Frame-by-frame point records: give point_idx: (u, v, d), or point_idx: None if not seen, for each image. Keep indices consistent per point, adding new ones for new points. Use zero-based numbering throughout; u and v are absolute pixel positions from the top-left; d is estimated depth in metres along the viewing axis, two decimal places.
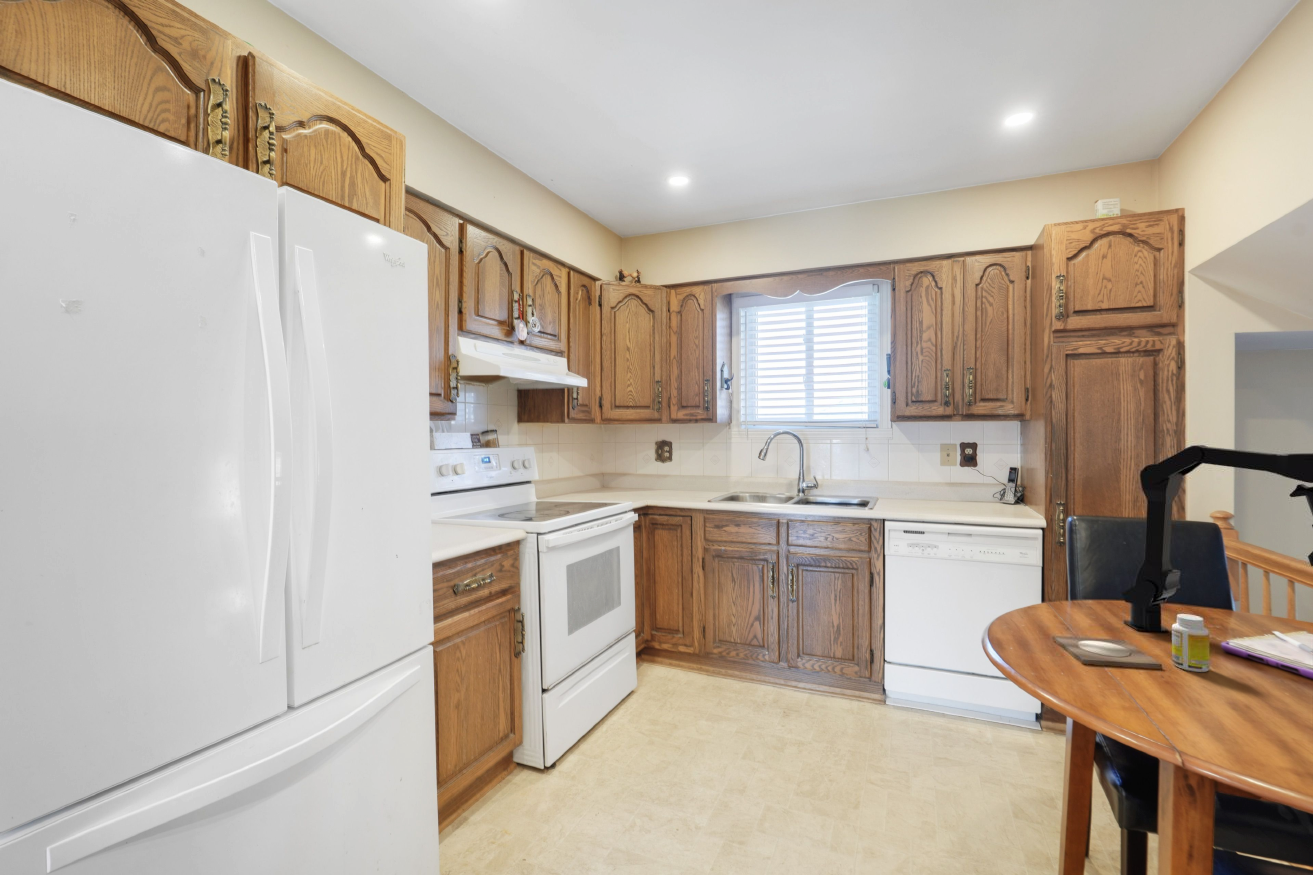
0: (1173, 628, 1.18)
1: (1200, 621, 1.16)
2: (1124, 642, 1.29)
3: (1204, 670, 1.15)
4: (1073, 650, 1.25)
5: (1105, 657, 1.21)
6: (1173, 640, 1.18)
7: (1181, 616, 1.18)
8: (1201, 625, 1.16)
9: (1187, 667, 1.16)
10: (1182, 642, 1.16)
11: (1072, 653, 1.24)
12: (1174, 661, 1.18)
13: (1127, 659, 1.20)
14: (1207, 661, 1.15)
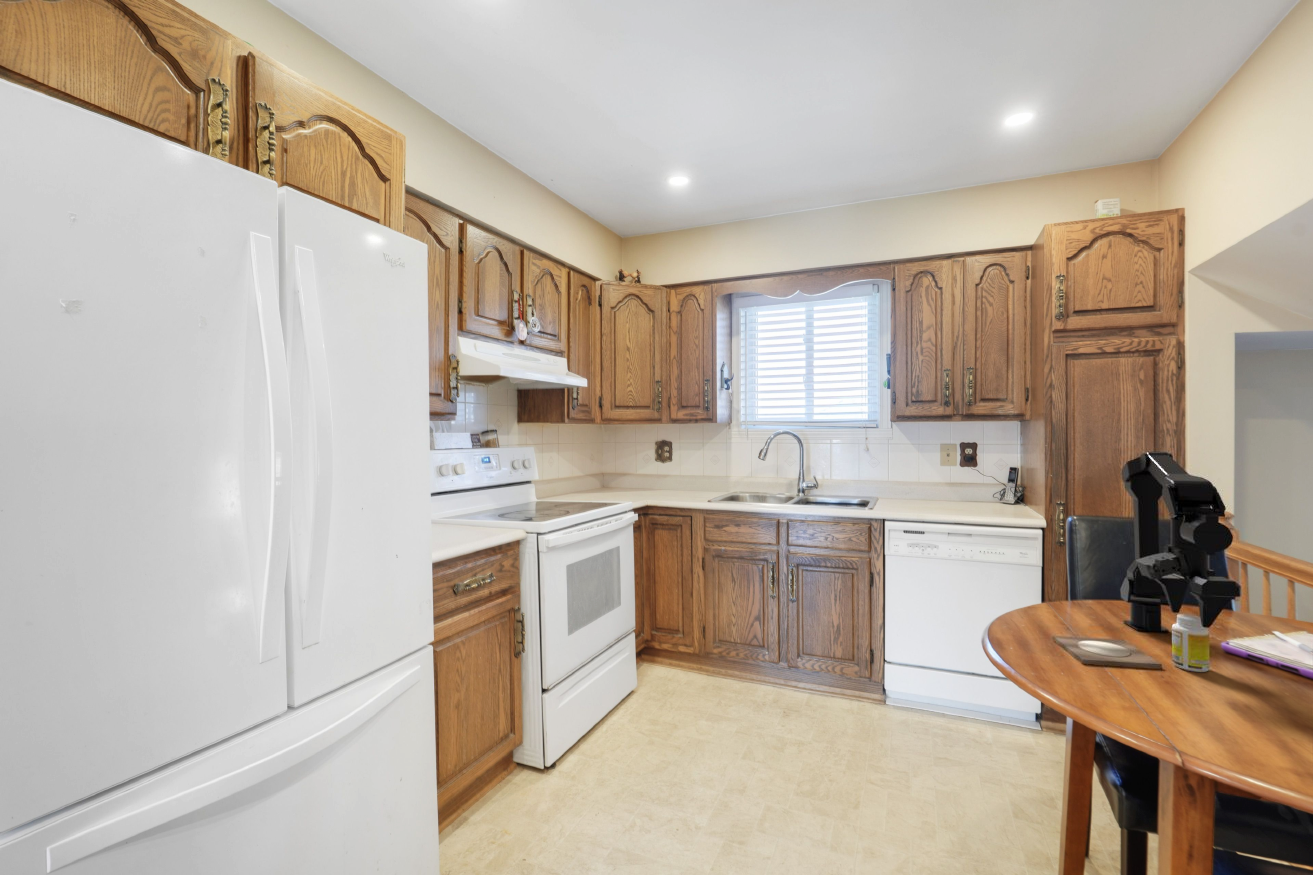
0: (1173, 628, 1.18)
1: (1200, 621, 1.16)
2: (1124, 642, 1.29)
3: (1204, 670, 1.15)
4: (1073, 650, 1.25)
5: (1105, 657, 1.21)
6: (1173, 640, 1.18)
7: (1181, 616, 1.18)
8: (1201, 625, 1.16)
9: (1187, 667, 1.16)
10: (1182, 642, 1.16)
11: (1072, 653, 1.24)
12: (1174, 661, 1.18)
13: (1127, 659, 1.20)
14: (1207, 661, 1.15)
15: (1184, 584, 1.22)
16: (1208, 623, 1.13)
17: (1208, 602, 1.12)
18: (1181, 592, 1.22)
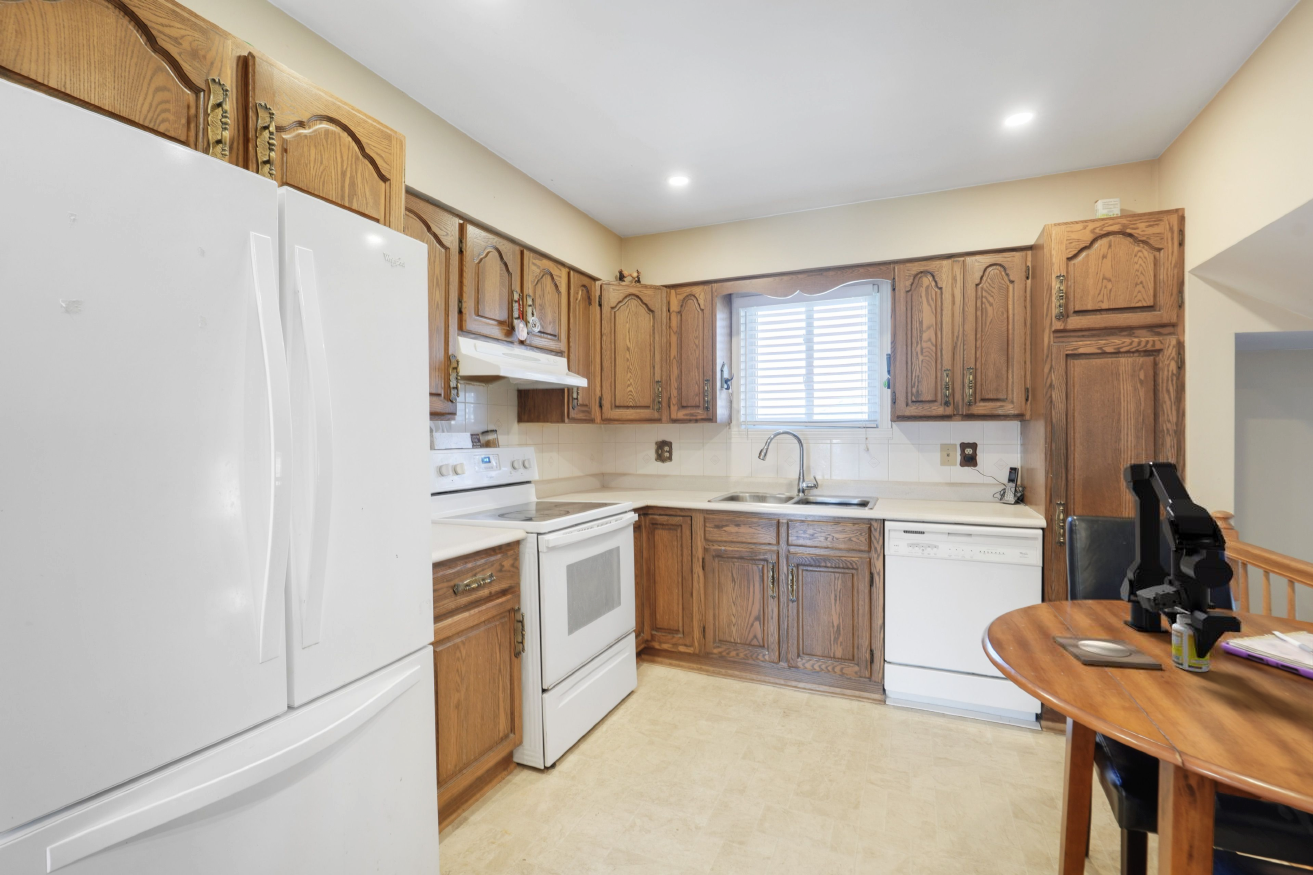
0: (1173, 628, 1.18)
1: None
2: (1124, 642, 1.29)
3: (1204, 670, 1.15)
4: (1073, 650, 1.25)
5: (1105, 657, 1.21)
6: (1173, 640, 1.18)
7: (1181, 616, 1.18)
8: None
9: (1187, 666, 1.16)
10: (1182, 642, 1.16)
11: (1072, 653, 1.24)
12: (1174, 661, 1.18)
13: (1127, 659, 1.20)
14: (1207, 661, 1.15)
15: None
16: (1203, 654, 1.14)
17: (1203, 633, 1.13)
18: None
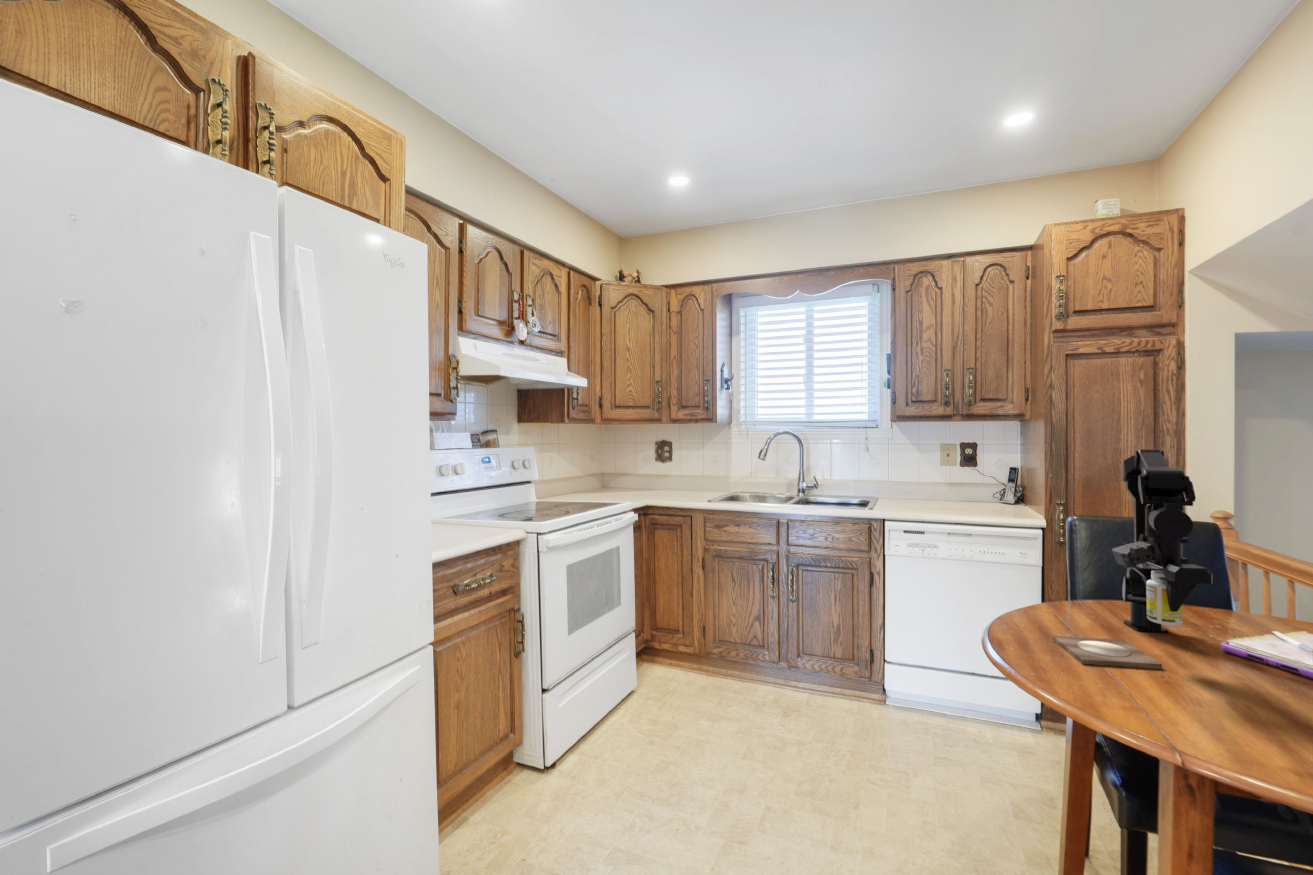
0: (1147, 583, 1.20)
1: None
2: (1124, 642, 1.29)
3: (1177, 623, 1.17)
4: (1073, 650, 1.25)
5: (1105, 657, 1.21)
6: (1147, 595, 1.21)
7: (1155, 571, 1.20)
8: None
9: (1160, 620, 1.18)
10: (1156, 596, 1.19)
11: (1072, 653, 1.24)
12: (1148, 616, 1.20)
13: (1127, 659, 1.20)
14: (1180, 614, 1.17)
15: None
16: (1175, 607, 1.16)
17: (1175, 587, 1.16)
18: None
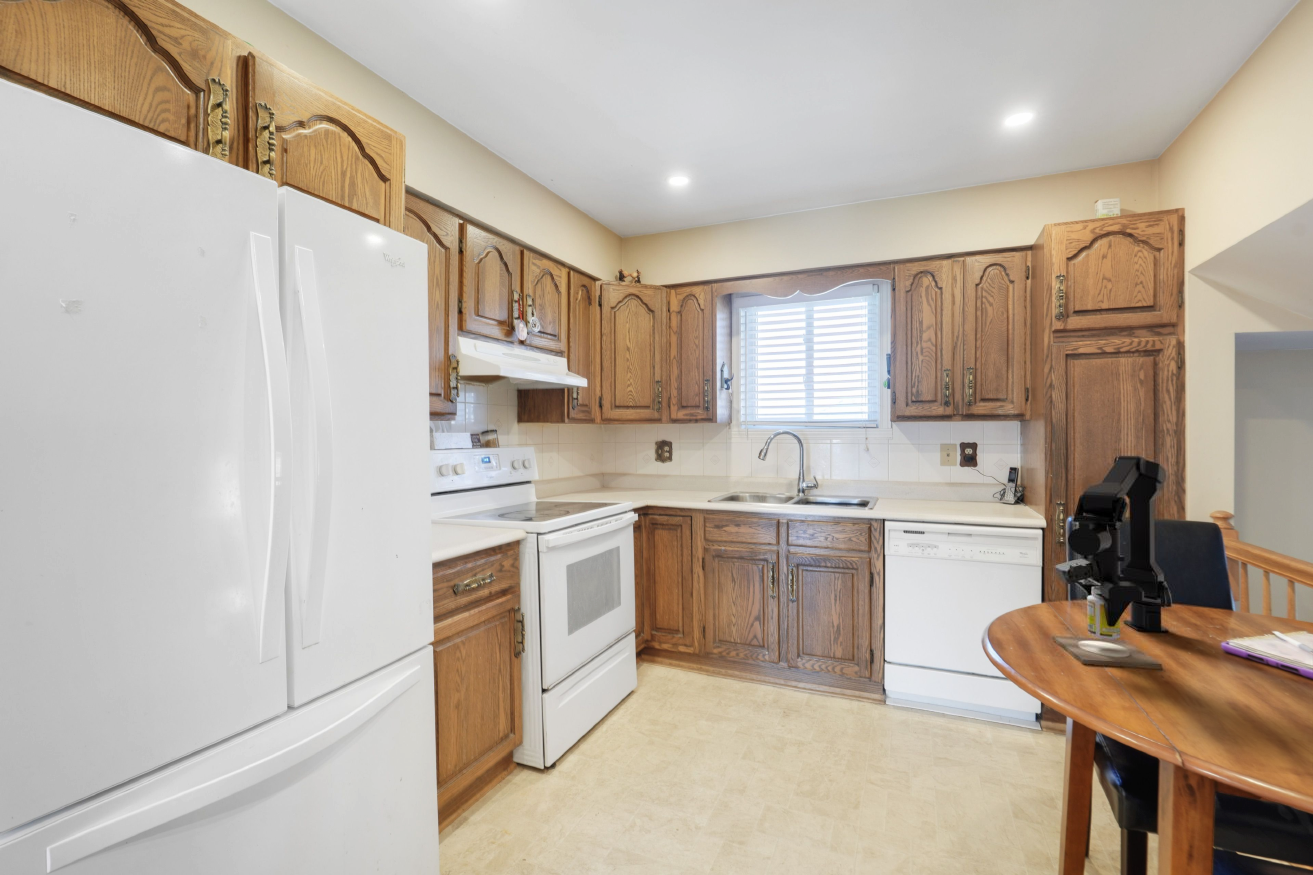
0: (1088, 599, 1.26)
1: None
2: (1124, 642, 1.29)
3: (1114, 637, 1.23)
4: (1073, 650, 1.25)
5: (1105, 657, 1.21)
6: (1088, 610, 1.26)
7: (1095, 588, 1.26)
8: None
9: (1099, 635, 1.24)
10: (1095, 611, 1.24)
11: (1072, 653, 1.24)
12: (1088, 630, 1.26)
13: (1127, 659, 1.20)
14: (1117, 629, 1.23)
15: None
16: (1112, 622, 1.22)
17: (1112, 603, 1.21)
18: None
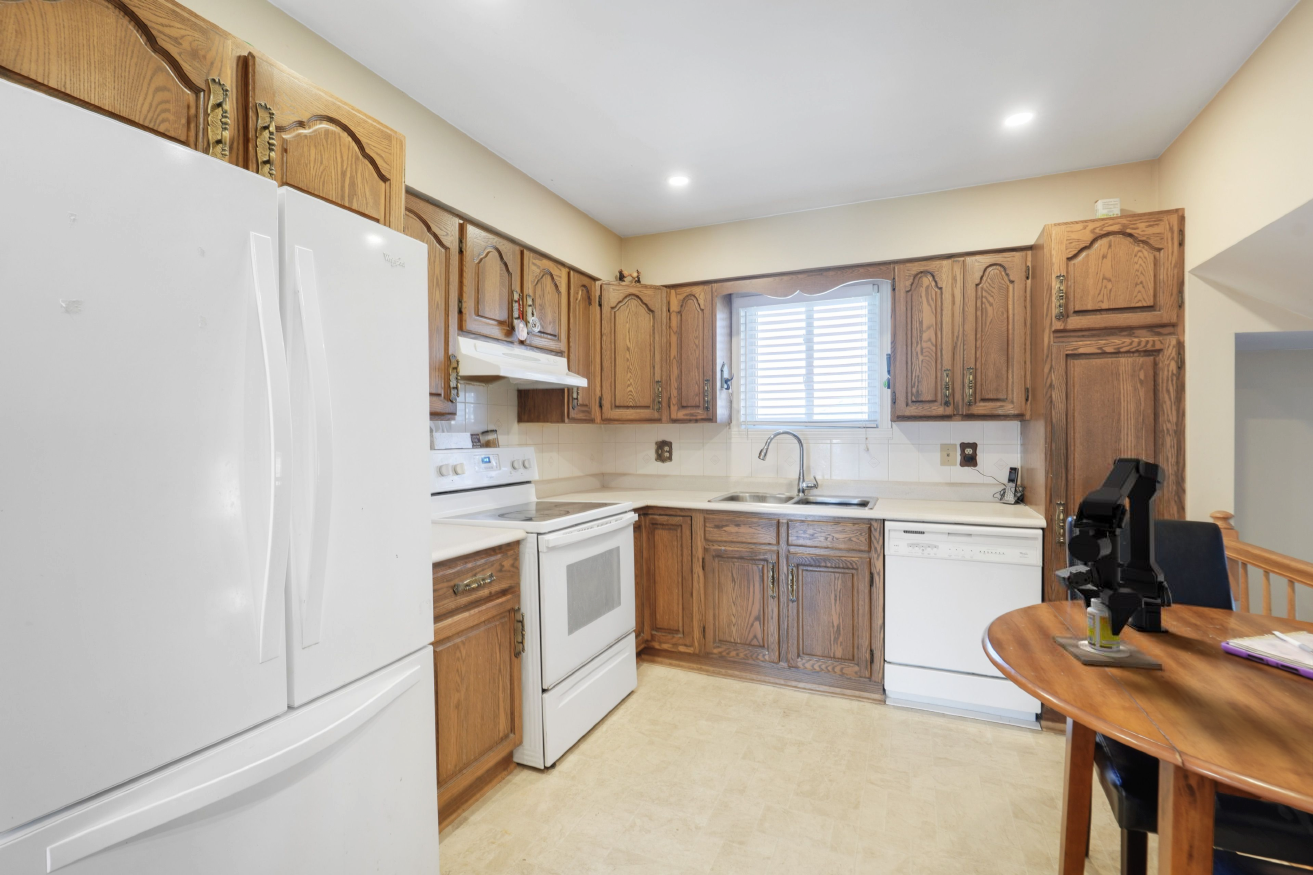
0: (1087, 611, 1.26)
1: None
2: (1124, 642, 1.29)
3: (1114, 650, 1.23)
4: (1073, 650, 1.25)
5: (1105, 657, 1.21)
6: (1087, 622, 1.26)
7: (1094, 599, 1.26)
8: None
9: (1099, 647, 1.24)
10: (1094, 623, 1.24)
11: (1072, 653, 1.24)
12: (1088, 642, 1.26)
13: (1127, 659, 1.20)
14: (1117, 641, 1.23)
15: None
16: (1117, 632, 1.20)
17: (1116, 612, 1.20)
18: None
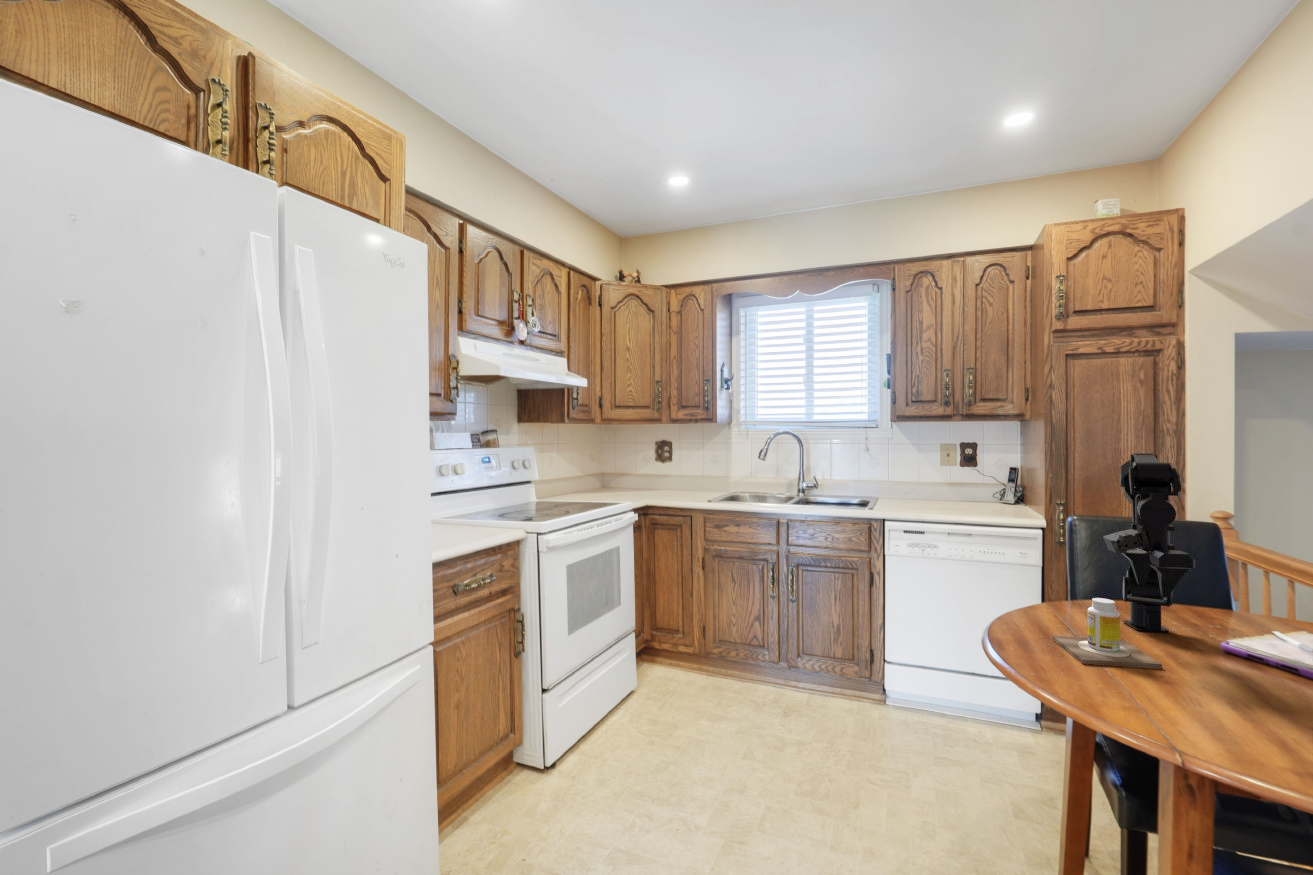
0: (1088, 611, 1.26)
1: (1111, 603, 1.23)
2: (1124, 642, 1.29)
3: (1114, 650, 1.23)
4: (1073, 650, 1.25)
5: (1105, 657, 1.21)
6: (1088, 622, 1.26)
7: (1095, 599, 1.26)
8: (1112, 608, 1.23)
9: (1099, 646, 1.24)
10: (1095, 623, 1.24)
11: (1072, 653, 1.24)
12: (1088, 642, 1.26)
13: (1127, 659, 1.20)
14: (1117, 641, 1.23)
15: (1149, 558, 1.32)
16: (1167, 593, 1.23)
17: (1166, 574, 1.22)
18: (1146, 566, 1.32)
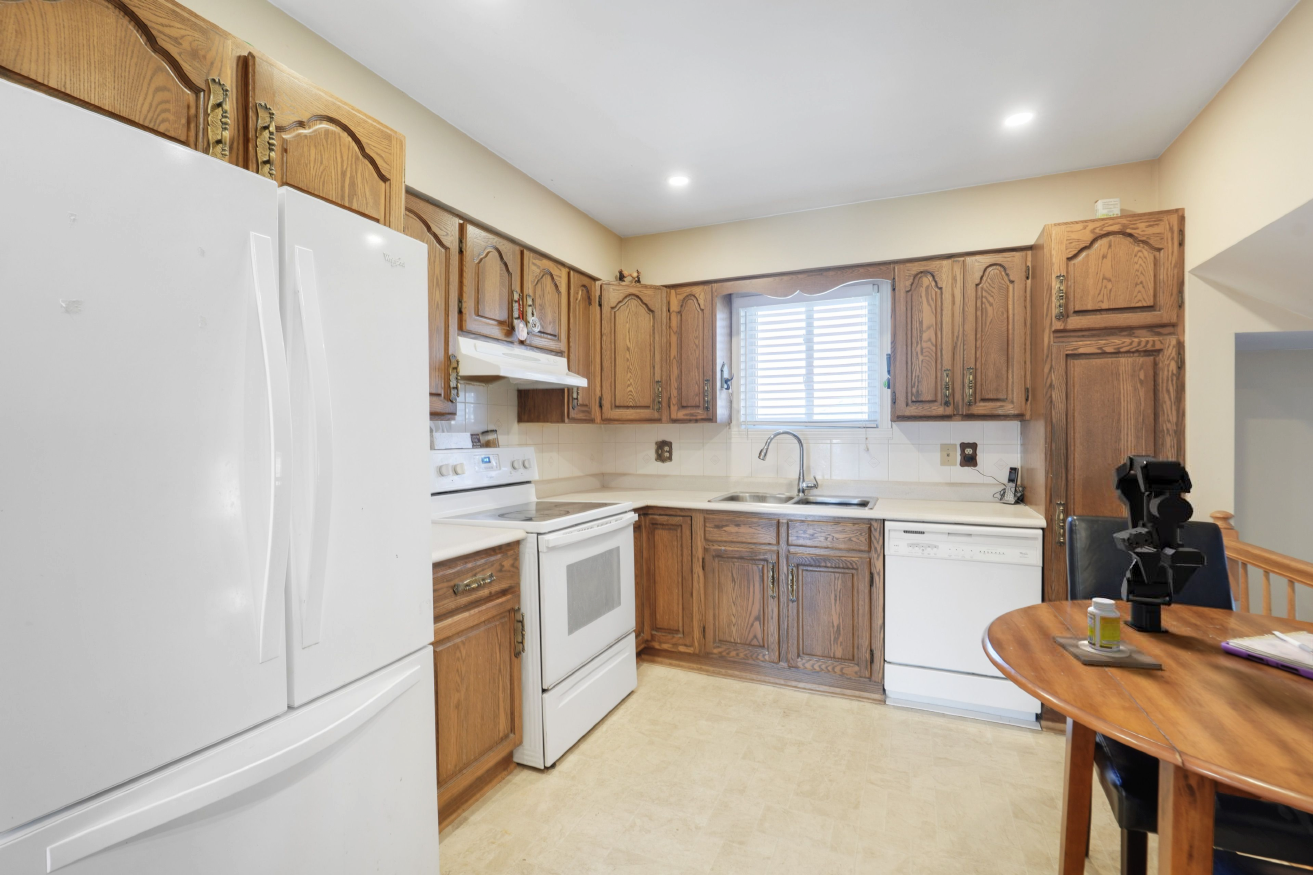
0: (1088, 611, 1.26)
1: (1111, 604, 1.23)
2: (1124, 642, 1.29)
3: (1114, 650, 1.23)
4: (1073, 650, 1.25)
5: (1105, 657, 1.21)
6: (1088, 622, 1.26)
7: (1095, 599, 1.26)
8: (1112, 608, 1.23)
9: (1098, 646, 1.24)
10: (1095, 623, 1.24)
11: (1072, 653, 1.24)
12: (1088, 642, 1.26)
13: (1127, 659, 1.20)
14: (1117, 641, 1.23)
15: (1157, 557, 1.32)
16: (1177, 590, 1.23)
17: (1177, 571, 1.22)
18: (1154, 564, 1.32)
